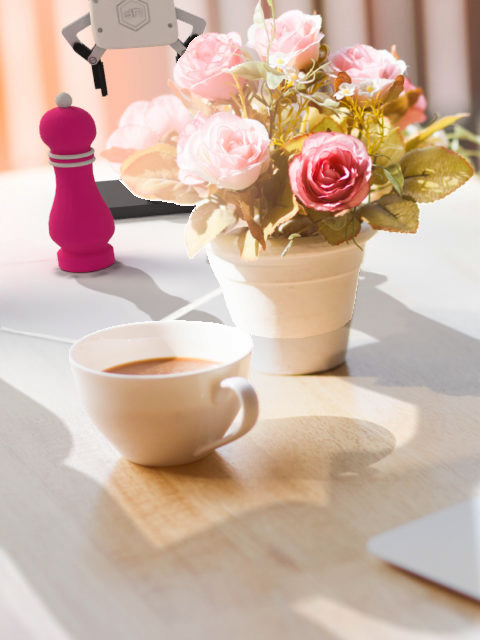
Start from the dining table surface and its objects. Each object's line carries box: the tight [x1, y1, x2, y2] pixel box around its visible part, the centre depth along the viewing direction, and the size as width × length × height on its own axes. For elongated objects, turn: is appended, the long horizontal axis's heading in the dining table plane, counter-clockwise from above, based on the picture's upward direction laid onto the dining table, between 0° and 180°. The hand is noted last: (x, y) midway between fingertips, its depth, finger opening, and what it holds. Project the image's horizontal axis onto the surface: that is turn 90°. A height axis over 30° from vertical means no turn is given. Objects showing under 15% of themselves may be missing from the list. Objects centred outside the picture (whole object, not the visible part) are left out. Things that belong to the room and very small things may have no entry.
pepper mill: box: [38, 91, 116, 273], centre depth 134 cm, size 7×7×20 cm
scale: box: [95, 179, 196, 221], centre depth 160 cm, size 16×14×4 cm
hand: (144, 91), depth 150 cm, fingers open, 9 cm apart
